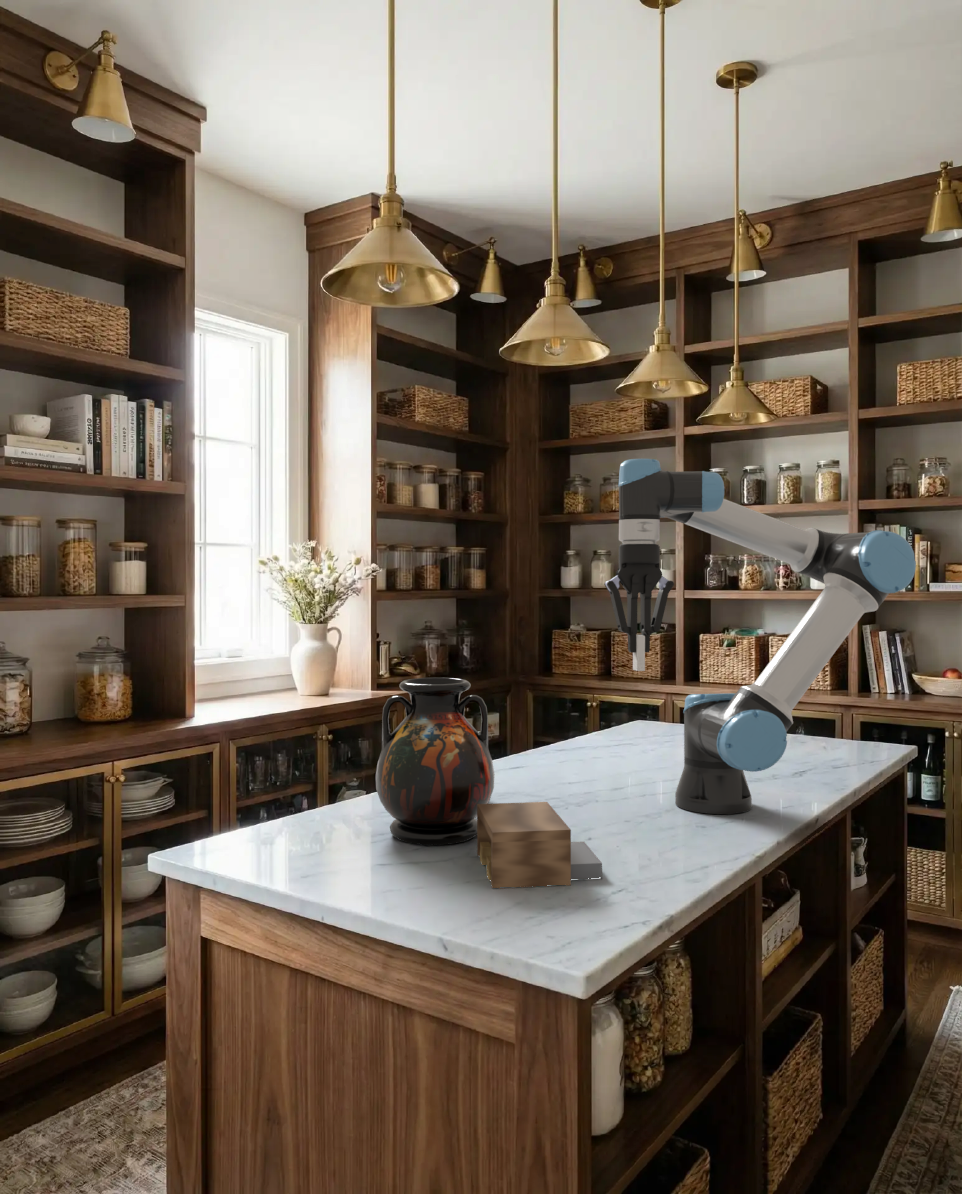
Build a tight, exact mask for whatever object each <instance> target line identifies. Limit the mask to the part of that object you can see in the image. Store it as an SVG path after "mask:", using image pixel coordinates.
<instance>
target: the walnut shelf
mask: <svg viewBox="0 0 962 1194" xmlns="http://www.w3.org/2000/svg"><path fill="white" fill-rule="evenodd" d="M476 819H477V835H476V837H477V838H476V840H477V841H476V843H477V844H476V849H477V850H476V854H478V855H477V857H478V856H480V857H479V861H480V863H482V864H481V865H487V866H486V877H487V876H488V877H487V879H489V880H491V881H490V885H492V886H491V888H499V889H501V888H500V887H521V888H537V887H536V886H544V887H548V886H547V885H566V886H571V885H572V884H571V882H572V880H571V842H572V837H571V836H572V830H571V828H570V826H568V825H567V823H566V822H565V821H564V820H563V819H562V818H561V816H560V815H559V814H558V812H556V810H554V808H553V807H552V806H551V805H550V804H549V802H548V801H533V802H532V801H528V802H527V801H526V802H525V801H524V802H499V803H497V802H496V803H495V802H494V803H488V804H477V817H476ZM489 880H488V881H489ZM532 886H533V887H532Z"/></svg>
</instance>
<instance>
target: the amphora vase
mask: <svg viewBox="0 0 962 1194" xmlns="http://www.w3.org/2000/svg"><path fill="white" fill-rule="evenodd" d="M398 685H399V688H400V690H402V691H403V692H407V694H409V698H410V701H409V700H408V699H407V698H405V697H404V696H402V695H392V696H390V697H389V698H387V700H386V702H385V704H384V706H383V708H382V718H381V719H382V721H381V722H382V723H381V751H380V754H379V757H378V761H377V765H376V770H375V789H376V792H377V794H378V798H379V801H380V803H381V804H382V806H383V807H384V809H385V811H386V812H387V813H389V815H390V816H391V817H392V818H393V819H394V820H392V822H391V824H390V825H389V830H390V831H389V832H390V834H391V835H392V836H393V837H395V838H396V839H397V840H399V841H401V842H404V843H408V844H409V843H410V844H413V845H420V844H422V845H421V846H448V845H453V844H459V843H463V842H467V841H469V840H472V839H473V838H475V837H477V804H489V802H490V801H491V799H492V798H491V797H492V794H493V792H494V788H495V770H494V769H495V768H494V764H493V759H492V756H491V753H490V750H489V722H488V721H489V716H488V708H487V705H486V703H485V700H484V699H483V698H482V697H480V696H479V695H477V694H471V695H467V696H465V697H464V698H463V699H461V701H460V697H461V694H462V693H463V692H465V691H467V690H469V689H470V688H471V683H470V682H469V681H468V680H466V679H462V678H454V677H420V678H411V679H405V680H403V681H401V682H400V683H399V684H398ZM471 702H473V703H476V704H478V707H479V709H480V714H481V716H480V717H481V724H480V730H479V731H480V733H478V732H479V731H478V730H477V729H476V728H475V727H474V726H473V725H472V723H471V722H470V721H469V720H468V719H467V718H466V716H465V709H466V708H465V707H466V706H467V705H468V704H469V703H471ZM395 703H401V705H402V706H403V707H405V717H404V718H403V720H402V721H401V722H400V723H399V725H397V726H396V728H395V729H394V730H393V731H392V733H391V732H390V724H389V717H390V711H391V707H392V705H394V704H395Z"/></svg>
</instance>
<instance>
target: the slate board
mask: <svg viewBox="0 0 962 1194" xmlns="http://www.w3.org/2000/svg"><path fill="white" fill-rule="evenodd" d="M599 877H602V878H603V863H602V861H601V860H600V858H599V857H597V855H596V854H595V852H594V851H592V849H591V848H590V847H589V845H588V844H587V843H586V842H585V841H571V879H588V878H589V879H591V878H599Z"/></svg>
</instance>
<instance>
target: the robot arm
mask: <svg viewBox="0 0 962 1194" xmlns="http://www.w3.org/2000/svg"><path fill="white" fill-rule="evenodd" d="M619 465H620V466H619V472H618V473H619V474H618V485H617V487H618V506H619V507H618V510H619V511H618V513H619V514H618V517H619V518H618V541H619V542H621V544H619V546H618V569H617V571H616V573H615V576H613V577H612V578H611V579H609V580H606V581H604V587H605V588H606V590H607V591H608V592H609V596H610V600H611V605H612V608H613V614H614V618H615V621H616V626H617V630H618V631H619V632H621V633H624V634H626V636H627V651H628V652H629V653H631V654H632V670H633V671H636V672H645V671H646V655H645V654H646V653H650V651H651V635H652V634H654V633H658V632H659V631H660V630H661V627H662V622H663V618H664V613H665V611H666V610H665V609H666V605H667V601H668V599H669V598H668V597H669V594H670V591H672V589H673V588H674V585H675V582H674V581H673V580H669V579H668V578H666V577H665V576H663V573H662V570H661V568H660V567H661V565H660V563H661V562H660V561H661V558H660V557H661V556H660V555H661V554H660V553H661V552H660V551H661V549H660V548H661V547H660V545H659V544H658V543H657V542H659V541H660V540H661V539H660V538H661V537H660V533H661V532H660V531H661V530H660V529H661V528H660V526H661V525H660V524H661V523H660V522H661V521H660V520H661V518H663V519H664V518H667V519H670V520H672V521H676V522H678V523H681V524H684V525H686V526H690V527H692V528H694V529H697V530H700V531H703V532H704V533H707V534H710V535H713V536H716V537H718V538H721V539H723V540H725V541H729V542H731V543H733V544H737V545H739V546H742V547H745V548H747V549H749V550H752V551H754V552H758V553H759V554H761V555H765V556H767V557H770V558H773V559H776V560H778V561H781V562H783V563H786V564H788V565H790V569H791V570H792V572H793V571H794V572H795V573H798V574H801V575H803V576H806V577H808V578H811V579H813V580H815V581H817V582H820V583H821V584H824V588H823V590H822V591H821V593H820V594H819V595H818V596H817V598H816V599H815V600H814V602H813V603H812V604H811V606H810V607H809V609H808V610H807V611H806V613H805V614H804V615H803V616H802V618H801V619H800V621H799V622H798V623H797V624H796V626H795V627H794V629H793V630H792V631H791V633H789V635H788V637H787V638H786V640H785V641H784V642H783V643H782V645H781V646H780V648H778V650H777V652H776V653H775V654H774V655H773V657H772V658H771V659H770V661H769V662H768V663H767V664H766V666H765V668H764V669H763V670H762V672H760V674H759V676H758V677H757V678H756V680H754V682H753V683H751V684H749V685H742V686H740V687H739V689H738V690H737V692H735V693H734V692H733V693H730V692H729V693H728V692H727V693H692V694H688V695H686V697H685V699H684V709H683V722H684V723H683V732H684V733H683V736H684V737H683V740H684V741H683V743H684V745H683V746H684V747H683V749H684V750H683V753H684V754H683V757H684V760H683V761H684V762H683V763H684V764H683V770H682V773H681V775H680V778H679V781H678V784H677V787H676V791H675V798H674V800H675V803H674V804H675V805H676V806H677V807H679V808H680V809H682V810H686V811H689V812H694V813H702V814H709V815H711V814H713V815H714V814H715V815H732V814H733V815H735V814H740V813H742V814H743V813H745V812H749V811H750V810H752V807H753V806H752V805H753V804H752V802H753V799H752V794H751V791H750V788H749V785H748V782H747V778H746V776H745V775H746V774H745V772H744V771H746V772H751V773H753V772H761V771H766V770H768V769H770V768H771V767H773V766H774V765H776V764H777V763H778V762H779V761H780V760H781V758H782V757H783V755H784V754H785V752H786V749H787V746H788V745H787V744H788V740H787V736H788V734H787V732H788V731H789V729H790V728H791V727H792V726H793V724H794V721H793V720H794V719H793V713H792V712H793V710H794V709H795V707H796V706H797V704H798V703H799V702H800V700H801V699H802V698H803V696H804V694H805V693H806V692H807V691H808V689H810V686H812V683H814V681H815V680H816V679H817V677H818V676H819V675H820V673H821V672H822V670H823V669H824V667H825V666H826V665H827V663H829V662H830V660H831V658H832V657H833V655H834V654H835V653H836V651H837V650H838V649H839V647H840V646H841V645H842V644H843V642H844V641H845V640H846V638H847V636H848V635H849V634H850V633H851V631H852V630H853V629H854V627H856V625H857V623H858V622H859V621H860V619H861V618H862V616H863V615H864V614H865V613H871V612H875V611H876V612H877V610H879V607H880V606H881V605H882V603H884V601H885V600H886V599H887V597H888V596H889V594H895V593H898V592H899V591H903V590H904V589H906V588H907V586H909V584H910V583H911V582H912V580H913V578H914V577H915V574H916V569H917V561H916V560H915V552H914V550H913V548H912V546H911V544H910V543H909V542H908V540H906V538H904V537H903V536H902V535H901V534H898V533H897V532H893V531H890V530H889V531H888V530H887V531H885V530H882V529H881V530H880V529H879V530H878V529H876V530H872V531H870V532H853V533H852V532H850V533H839V532H838V533H834V532H828V531H824V530H819V529H817V528H814V527H808V528H806V529H803V528H801V527H798V526H795V525H793V524H790V523H788V522H785V521H782V520H781V519H778V518H775V517H772V516H769V515H767V514H765V513H762V512H759V511H756V510H754V509H751V508H749V507H747V506H744V505H742V504H741V505H740V504H739V503H737V502H733V501H731V500H728V499H725V484H724V480H723V477H722V476H721V475H720V474H719V473H717V472H712V471H705V470H702V471H668V470H664V469H663V470H662V468H661V463H660V461H659V460H658V459H656V458H655V459H654V458H631V459H630V458H629V459H626V460H624V461H623V462H621V463H620V464H619ZM620 585H621V586H622V587H623V589H624V590H625V591H626V600H627V601H626V602H627V606H626V608H627V610H626V611H627V613H626V614H625V611H624V605H623V602H622V598H621V594H620V591H619V588H620ZM657 585H658V588H659V590H658V591H657V596H656V601H655V603H654V609H653V613H652V610H651V609H652V606H651V605H652V603H651V602H652V593H653V590H654V589H655V587H656V586H657ZM639 598H640V634H638V599H639ZM626 615H627V618H626ZM651 615H652V616H651Z"/></svg>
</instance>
